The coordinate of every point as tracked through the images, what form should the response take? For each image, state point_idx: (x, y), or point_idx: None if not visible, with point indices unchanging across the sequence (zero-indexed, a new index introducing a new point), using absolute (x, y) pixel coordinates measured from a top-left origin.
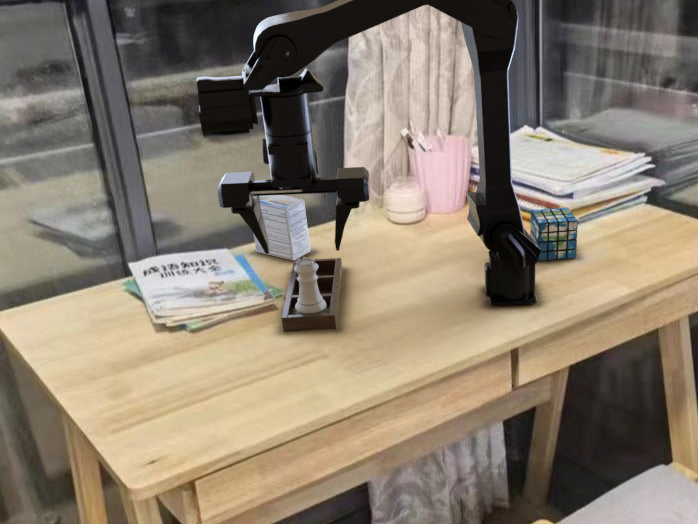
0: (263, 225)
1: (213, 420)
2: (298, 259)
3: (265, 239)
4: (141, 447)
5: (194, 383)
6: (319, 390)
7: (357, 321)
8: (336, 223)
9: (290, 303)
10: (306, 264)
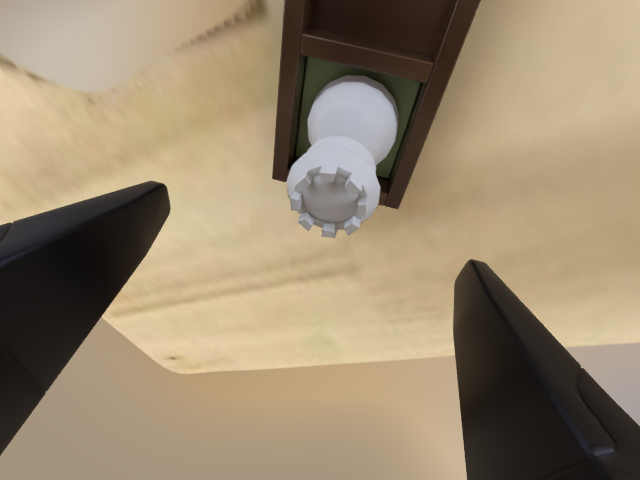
0: (61, 276)
1: (210, 333)
2: (300, 187)
3: (127, 269)
4: (153, 341)
5: (163, 266)
6: (329, 332)
7: (461, 167)
8: (470, 468)
9: (294, 98)
10: (327, 236)
